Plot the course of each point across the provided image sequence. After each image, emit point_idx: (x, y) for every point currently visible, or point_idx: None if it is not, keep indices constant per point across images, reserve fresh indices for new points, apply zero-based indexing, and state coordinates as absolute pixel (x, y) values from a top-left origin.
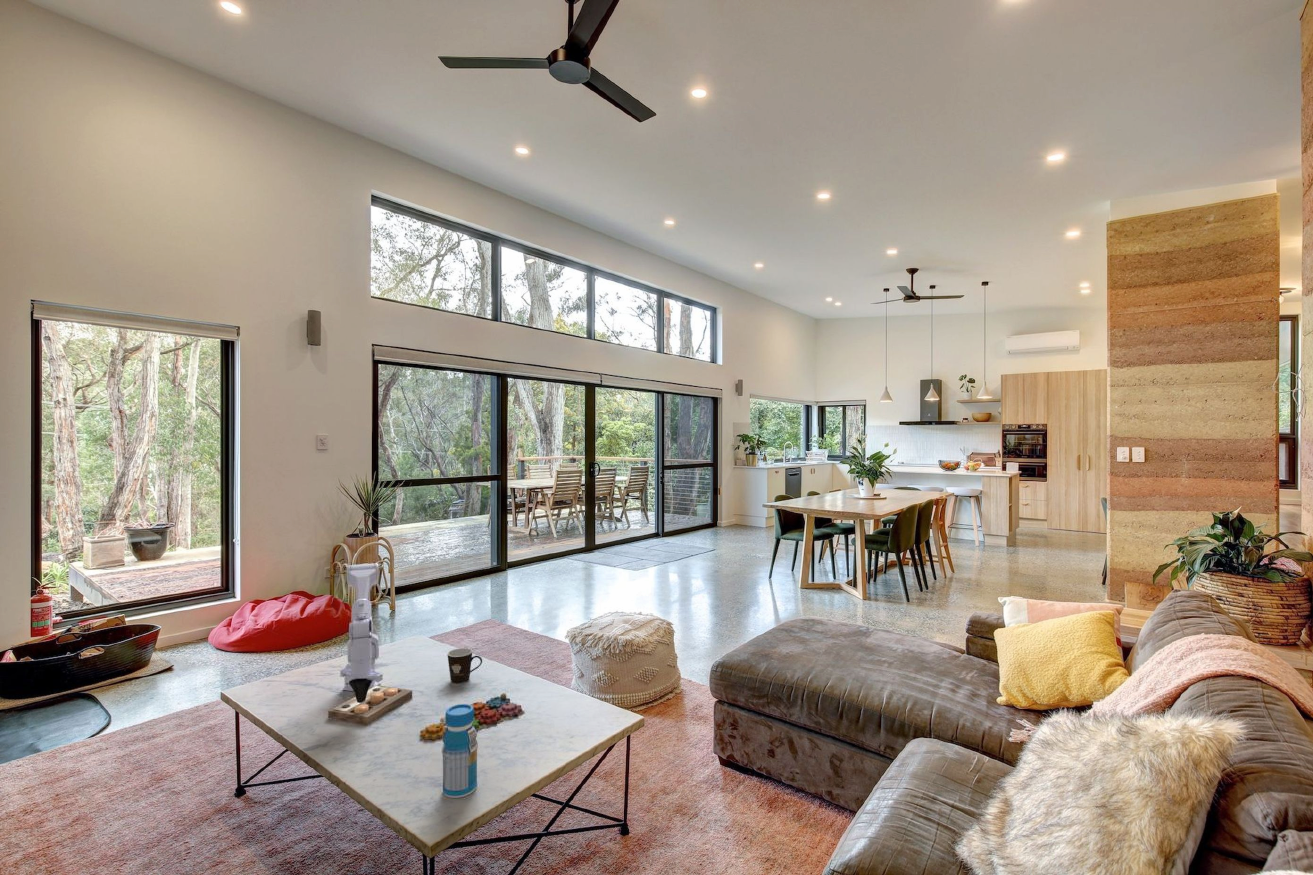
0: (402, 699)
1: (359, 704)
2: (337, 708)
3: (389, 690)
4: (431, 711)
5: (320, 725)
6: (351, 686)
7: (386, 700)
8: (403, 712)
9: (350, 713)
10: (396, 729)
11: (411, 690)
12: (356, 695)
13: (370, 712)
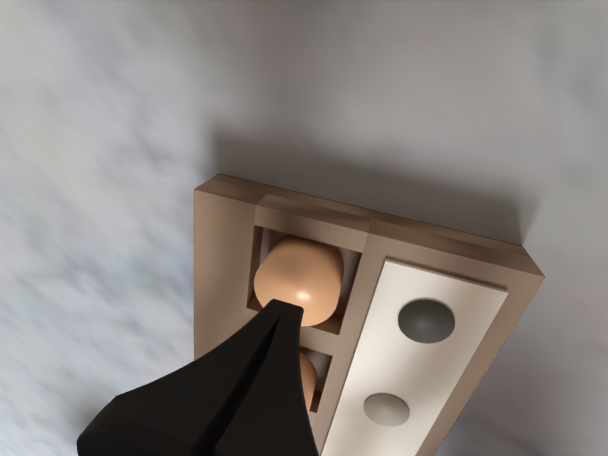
0: None
1: (355, 344)
2: (477, 299)
3: None
4: (59, 303)
5: (535, 150)
6: (302, 427)
7: None
8: (151, 300)
9: (338, 235)
10: (52, 141)
11: None
12: (283, 340)
13: (221, 249)
